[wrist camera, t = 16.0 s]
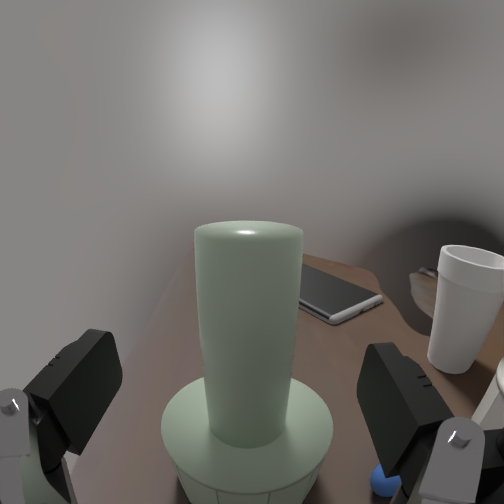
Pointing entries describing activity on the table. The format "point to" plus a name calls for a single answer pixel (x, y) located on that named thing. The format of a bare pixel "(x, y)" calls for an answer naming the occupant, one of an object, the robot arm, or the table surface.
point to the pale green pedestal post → (247, 374)
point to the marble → (383, 483)
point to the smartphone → (333, 296)
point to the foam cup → (464, 305)
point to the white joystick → (492, 403)
